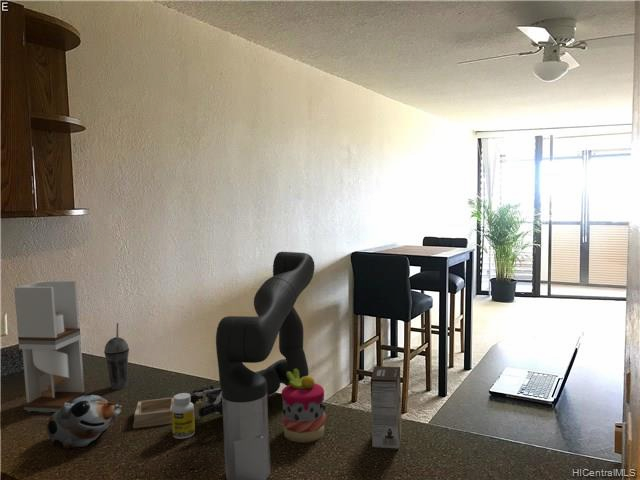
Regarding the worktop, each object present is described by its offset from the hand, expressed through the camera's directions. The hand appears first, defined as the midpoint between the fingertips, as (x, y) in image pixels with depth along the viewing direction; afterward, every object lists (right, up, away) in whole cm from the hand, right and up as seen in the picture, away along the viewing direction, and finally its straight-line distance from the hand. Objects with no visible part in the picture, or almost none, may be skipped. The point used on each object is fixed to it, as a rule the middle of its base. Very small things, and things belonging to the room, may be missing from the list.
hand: (190, 407), depth 127 cm
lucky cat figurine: (-25, -7, -1) cm, 26 cm away
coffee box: (+48, -5, -7) cm, 49 cm away
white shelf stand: (-44, -6, +21) cm, 49 cm away
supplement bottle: (-1, -6, -1) cm, 7 cm away
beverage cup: (-31, -4, +33) cm, 45 cm away
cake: (+28, -6, -2) cm, 29 cm away
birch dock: (-12, -6, +10) cm, 16 cm away
